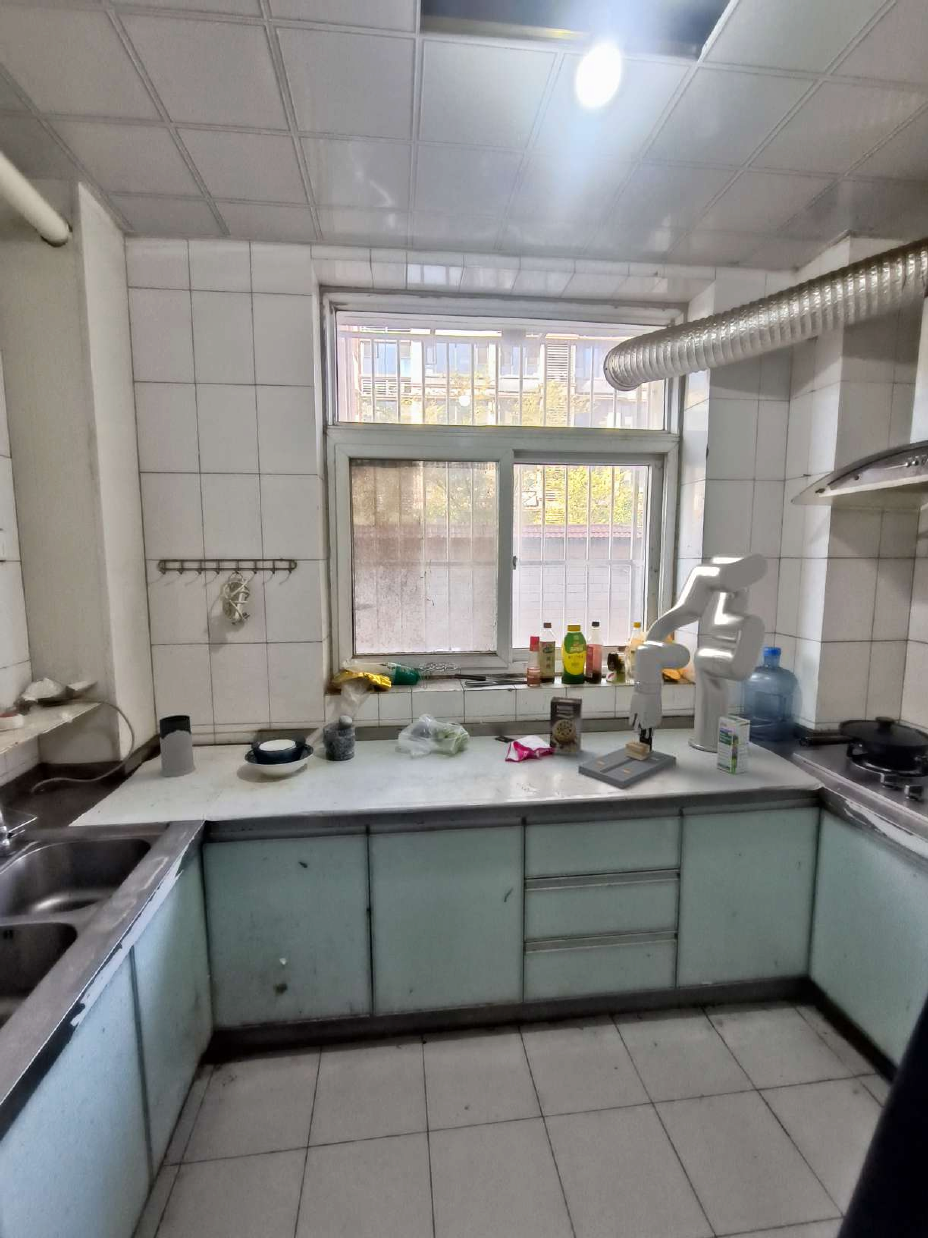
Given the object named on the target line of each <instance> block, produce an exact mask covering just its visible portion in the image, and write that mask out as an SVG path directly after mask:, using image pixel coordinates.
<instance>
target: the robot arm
mask: <svg viewBox="0 0 928 1238" xmlns="http://www.w3.org/2000/svg"><path fill="white" fill-rule="evenodd" d="M768 565H769V564H768V561H767V558H766V556H764V555H763V554H761V553H758V552H721V553H717V554H714V555H713V556H711V558H710V560H709V562H708V563H706V562H705V563H704V562H703V563H699V564H696V565H695V566H693V568H691V570H690V572H689V574H688V575H687V578H686V581H685V583H684V584H683V587H682V589H681V591H680V593H679V596H678V598H676V599H677V600H676V601H675V604H674V605H673V607H672V608H670V609H668V610H667V611H666V612H664V613H663V614H662V615H661V616H660V617H659V618H658V619H657V620H655V621H654V622H653V624H652V625H651V626H650V628H649V629H648V631H647V632H646V635H645V637H644V640H643V642H642V643H641V644H638V645H637V646H636V647H635V648H634V649H635V650H634V669H633V670H634V671H633V673H634V677H633V693H632V696H631V701H630V708H629V715H628V716H629V717H628V718H629V719H628V721H629V722H628V724H629V726H630V727H634V728H633V733H634V734H637V735H638V737H639V738H638V739H639V740H638V742H641V743H644V744H647V745H650V751H651V750H653V737H654V733H655V730H656V729H657V727H659V725H660V724H661V723H662V717H663V703H662V701H663V699H662V690H663V687H662V686H663V670H673V671H675V670H676V671H677V670H681V669H684V668H686V666H688V664H689V662H691V661H690V660H691V652H690V650H689V649H688V648H687V647H686V646H684V645H683V644H681V643H675V642H672V641H666V640H667V639H668V637H669V636H670V635H671V634H672V633H673V632H674V631H676V630H679V628H682V627H685V626H687V625H690V624H693V623H696V622H699V621H700V620H702V619H703V618H704V617H705V613H706V612H707V611H708V607H709V605H710V603H711V601H712V599H713V597H714V594H716V593H717V596H716V600H715V605H714V607H713V611H712V614H711V618H710V621H709V624H708V635H709V637H710V638H711V639H712V640H713V641H714V640H715V641H717V642H722V643H726V644H734V645H735V646H734V647H729V646H724V645H718V644H704V645H703V644H702V645H701V646H699V647H698V648H697V649H696V650H695V652H694V654H693V668H694V674H695V699H694V700H695V701H694V702H695V704H694V723H693V725H694V727H693V735H692V736H690V737H689V738H688V744H689V745H690V746H691V747H693V748H695V749H697V750H701V751H705V752H714V753H718V733H719V718H721V717H723V716H730V695H731V693H730V686H729V684H728V680H729V681H733V682H738V683H743V682H747V681H749V679H751V678H752V676H753V674H754V673H755V670H756V666H757V664H758V660H759V657H760V654H761V651H762V647H763V643H764V641H765V636H766V627H765V622H764V620H763V619H762V618H761V617H760V616H758V615H756V614H753V613H746V608H747V605H748V601H749V600H748V599H749V598H748V592H747V590H746V588H747V587H749V586H751V585H754V584H756V583H758V582H759V581H761V580H762V579H763V578H764V577H765V576H766V574H767V572H768V568H769V567H768Z"/></svg>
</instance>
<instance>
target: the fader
mask: <svg viewBox="0 0 928 1238" xmlns="http://www.w3.org/2000/svg"><path fill="white" fill-rule="evenodd" d="M625 747H626V756H629V757H632V758H635V759H638V760H644V759H646V758H648V757H649V751H650V745H647V744H644V743H641V742H639V741H637V740H632V741H629V742H626V744H625Z"/></svg>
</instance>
